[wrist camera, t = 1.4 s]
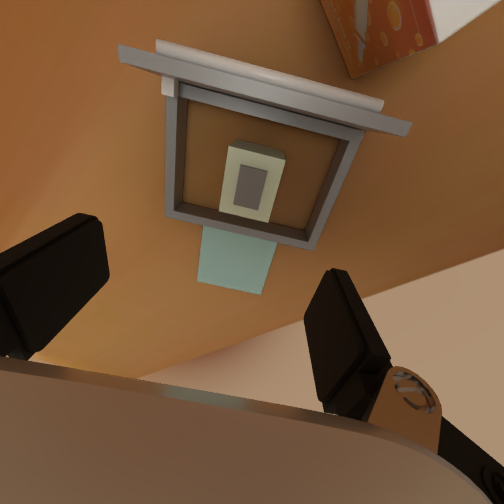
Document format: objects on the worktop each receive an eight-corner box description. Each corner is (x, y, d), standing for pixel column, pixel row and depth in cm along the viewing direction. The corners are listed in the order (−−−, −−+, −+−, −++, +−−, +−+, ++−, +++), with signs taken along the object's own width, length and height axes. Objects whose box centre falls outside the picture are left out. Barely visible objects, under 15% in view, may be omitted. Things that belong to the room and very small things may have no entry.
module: (282, 150, 24) (286, 161, 19) (268, 202, 27) (267, 224, 22) (237, 139, 24) (227, 146, 19) (228, 192, 27) (217, 213, 22)
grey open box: (362, 110, 22) (420, 107, 13) (309, 239, 30) (325, 289, 21) (179, 61, 21) (116, 24, 12) (174, 207, 29) (133, 246, 20)
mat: (278, 238, 30) (278, 240, 30) (260, 293, 35) (260, 294, 35) (204, 221, 29) (203, 222, 29) (197, 279, 35) (197, 281, 34)
